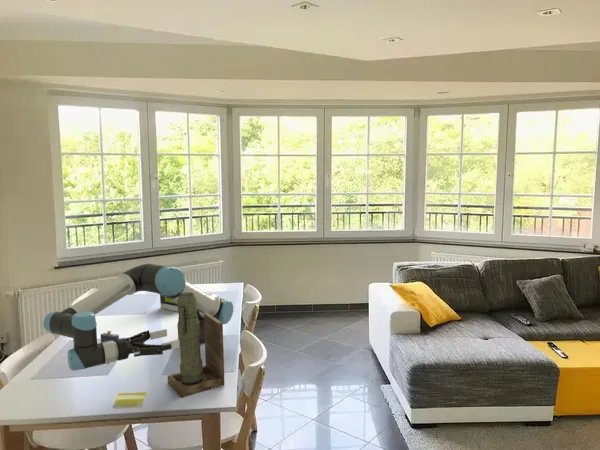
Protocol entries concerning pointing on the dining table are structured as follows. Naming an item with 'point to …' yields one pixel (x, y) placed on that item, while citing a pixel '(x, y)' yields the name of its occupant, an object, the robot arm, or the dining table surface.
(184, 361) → the thermos
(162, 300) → the tea box
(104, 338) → the flask
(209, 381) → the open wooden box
